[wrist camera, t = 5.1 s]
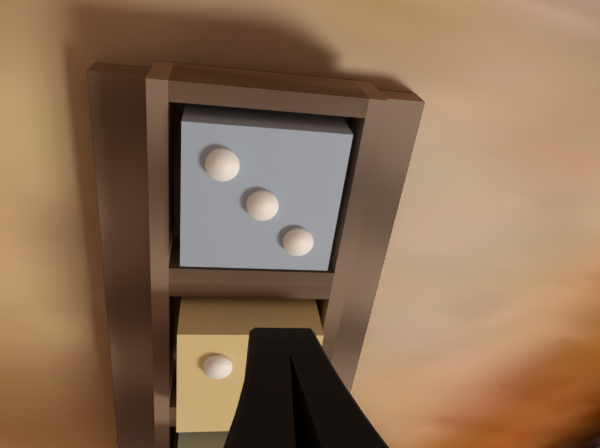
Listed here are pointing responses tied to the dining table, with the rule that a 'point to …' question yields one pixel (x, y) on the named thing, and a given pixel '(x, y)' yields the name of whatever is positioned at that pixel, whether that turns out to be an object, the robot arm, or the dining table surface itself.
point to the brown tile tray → (167, 208)
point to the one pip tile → (202, 439)
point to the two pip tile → (225, 352)
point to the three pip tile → (260, 187)
